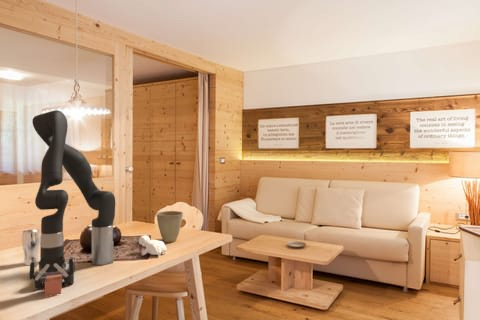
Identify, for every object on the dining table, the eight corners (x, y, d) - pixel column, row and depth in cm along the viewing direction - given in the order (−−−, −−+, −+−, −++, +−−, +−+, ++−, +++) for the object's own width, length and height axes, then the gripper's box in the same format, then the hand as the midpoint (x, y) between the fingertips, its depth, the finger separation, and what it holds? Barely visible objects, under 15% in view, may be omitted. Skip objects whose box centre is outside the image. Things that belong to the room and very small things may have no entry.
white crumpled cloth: (165, 258, 177) (143, 244, 183) (170, 244, 176) (148, 230, 181) (154, 263, 170) (132, 248, 175) (160, 248, 168) (137, 234, 173)
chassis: (74, 269, 152) (74, 255, 151) (73, 285, 134) (73, 270, 134) (40, 273, 146) (40, 259, 146) (34, 290, 129) (34, 274, 129)
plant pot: (186, 238, 206) (186, 211, 205) (177, 245, 191) (177, 216, 190) (162, 236, 208) (162, 210, 208) (151, 243, 194) (152, 215, 193)
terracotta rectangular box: (61, 288, 132) (61, 274, 132) (60, 294, 126) (60, 279, 126) (46, 290, 130) (46, 276, 130) (44, 297, 124) (44, 281, 124)
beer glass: (27, 260, 162) (26, 229, 161) (42, 260, 163) (42, 228, 162) (18, 265, 155) (18, 232, 154) (35, 265, 156) (35, 232, 155)
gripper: (74, 239, 134) (73, 281, 134) (31, 243, 128) (31, 286, 129) (73, 245, 127) (73, 288, 127) (27, 248, 121) (28, 294, 122)
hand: (52, 287), depth 128 cm, fingers open, 8 cm apart
